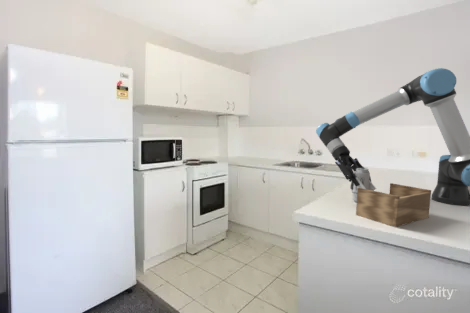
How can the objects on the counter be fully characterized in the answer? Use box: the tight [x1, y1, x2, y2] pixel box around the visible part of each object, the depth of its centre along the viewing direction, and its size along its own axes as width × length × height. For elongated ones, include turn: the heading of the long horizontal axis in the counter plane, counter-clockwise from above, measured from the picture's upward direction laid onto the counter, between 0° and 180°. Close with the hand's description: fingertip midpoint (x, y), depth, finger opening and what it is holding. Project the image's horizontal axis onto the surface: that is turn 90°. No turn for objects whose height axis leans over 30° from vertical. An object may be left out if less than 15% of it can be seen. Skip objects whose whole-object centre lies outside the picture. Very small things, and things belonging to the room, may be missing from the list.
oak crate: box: [355, 182, 432, 228], centre depth 100 cm, size 15×24×11 cm, turn 120°
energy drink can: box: [352, 167, 371, 204], centre depth 112 cm, size 6×6×15 cm
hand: (368, 191), depth 109 cm, fingers closed on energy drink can, 6 cm apart
